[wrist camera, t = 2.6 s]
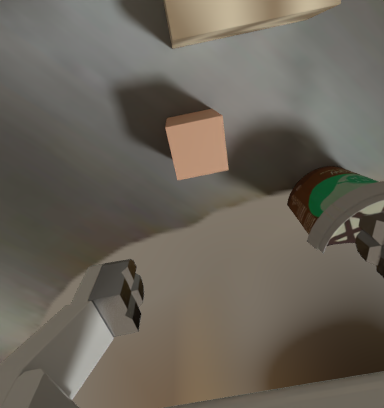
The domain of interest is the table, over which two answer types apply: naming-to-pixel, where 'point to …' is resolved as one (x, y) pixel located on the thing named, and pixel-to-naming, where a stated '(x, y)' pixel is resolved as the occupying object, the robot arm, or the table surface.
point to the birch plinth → (234, 17)
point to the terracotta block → (197, 143)
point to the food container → (334, 204)
